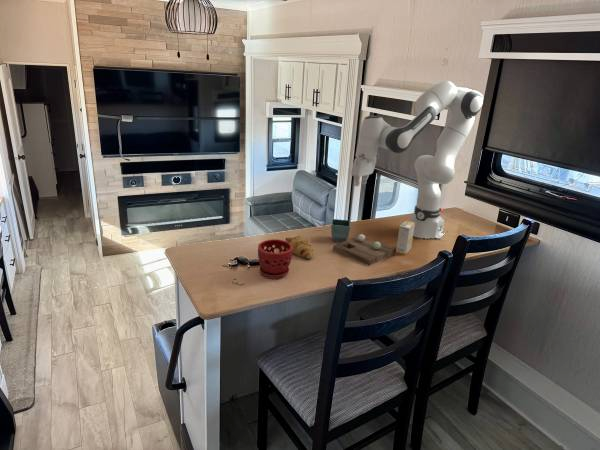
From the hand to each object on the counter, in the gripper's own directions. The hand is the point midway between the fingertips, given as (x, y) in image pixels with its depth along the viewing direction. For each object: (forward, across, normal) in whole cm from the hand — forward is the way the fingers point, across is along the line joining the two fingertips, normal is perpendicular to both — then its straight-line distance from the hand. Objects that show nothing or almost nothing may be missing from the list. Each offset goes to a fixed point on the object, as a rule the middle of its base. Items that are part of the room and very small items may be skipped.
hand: (360, 185), depth 183 cm
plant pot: (+34, -42, +14) cm, 56 cm away
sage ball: (+24, -2, -14) cm, 28 cm away
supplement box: (+27, +9, -23) cm, 37 cm away
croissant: (+32, -18, +16) cm, 40 cm away
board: (+29, -3, -8) cm, 30 cm away
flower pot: (+29, +5, +6) cm, 30 cm away
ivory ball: (+24, +3, -5) cm, 25 cm away
